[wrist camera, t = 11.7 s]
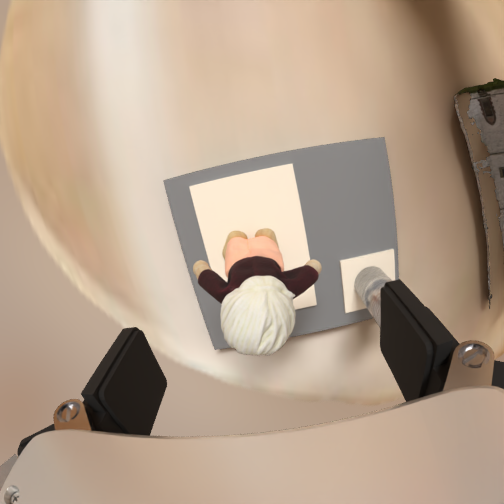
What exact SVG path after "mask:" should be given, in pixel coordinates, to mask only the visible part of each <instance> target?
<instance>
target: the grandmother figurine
mask: <svg viewBox="0 0 504 504" xmlns="http://www.w3.org/2000/svg"><path fill="white" fill-rule="evenodd" d="M222 255H223V258H224V259H225V275H226V276H227V278H228V281H227V282H226V281H225V280H224V279H223V278H222V277H220V276H219V275H218V274H217V273H216V272H214V271H213V270H212V269H211V268H210V267H209V265H208V263H207V262H205V261H203V260H199V261H197V262H196V263H195V264H194V265H193V272H194V274H195V275H196V277H197V279H198V284H199V285H200V286H201V287H202V288H203V289H204V290H205V291H206V292H207V293H209V294H210V295H211V296H212V297H213V298H215V299H216V300H217V301H218V302H219V303H221V304H222V306H221V313H220V316H221V318H220V319H221V329H222V331H223V333H224V339H225V340H226V341H227V343H228V345H229V346H230V347H232V348H234V349H236V350H237V352H239V353H241V354H246V355H271V354H273V353H274V352H276V351H278V350H279V349H280V348H281V347H282V346H283V345H284V344H285V342H286V341H287V339H288V337H289V335H290V334H291V333H292V331H293V328H294V325H295V315H296V314H295V307H294V305H293V299H294V298H296V297H298V296H299V295H301V294H302V293H304V292H305V291H306V290H307V289H308V288H310V287H311V286H312V285H313V284H314V283H315V282H316V281H317V280H318V277H319V274H320V272H321V270H322V266H321V264H320V262H319V261H317V260H314V259H312V260H309V261H308V262H307V263H306V264H305V265H304V266H301V267H298V268H295V269H292V270H288V271H284V263H283V258H282V254H281V252H280V250H279V246H278V242H277V239H276V235H275V233H274V231H273V230H271V229H269V228H264V229H260V230H258V231H257V232H256V234H255V238H250V239H248V238H247V235H246V234H245V233H244V232H241V231H232V232H230V233H229V235H228V237H227V239H226V242H225V245H224V247H223V251H222Z"/></svg>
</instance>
